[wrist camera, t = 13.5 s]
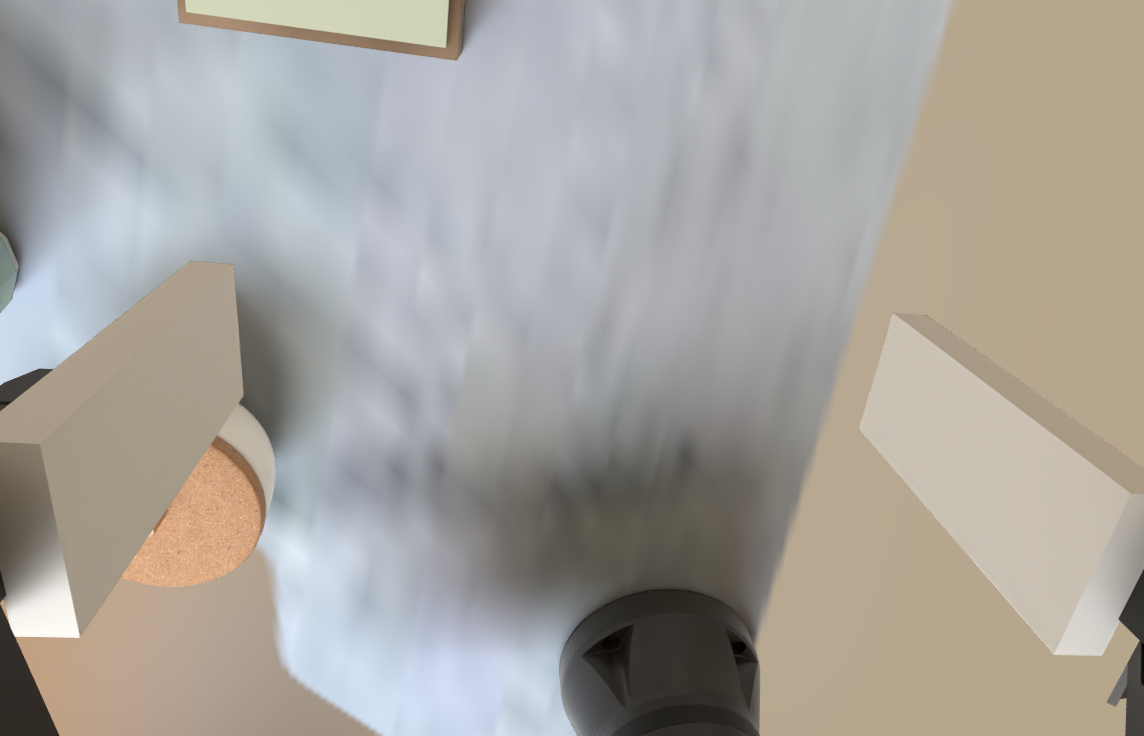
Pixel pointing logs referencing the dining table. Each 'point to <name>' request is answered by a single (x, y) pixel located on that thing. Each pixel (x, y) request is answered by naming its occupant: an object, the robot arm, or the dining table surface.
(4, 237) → the disposable coffee cup
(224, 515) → the lidded jar
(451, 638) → the dining table surface
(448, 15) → the walnut stand
